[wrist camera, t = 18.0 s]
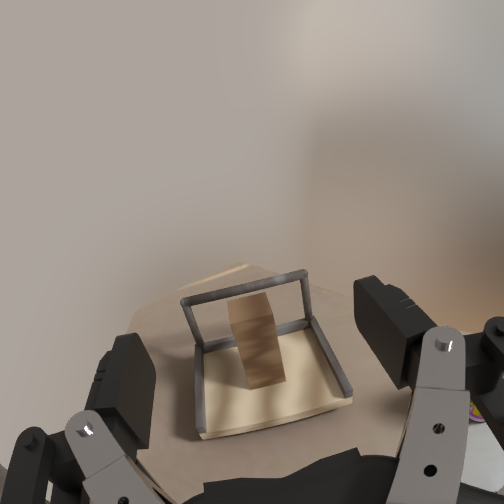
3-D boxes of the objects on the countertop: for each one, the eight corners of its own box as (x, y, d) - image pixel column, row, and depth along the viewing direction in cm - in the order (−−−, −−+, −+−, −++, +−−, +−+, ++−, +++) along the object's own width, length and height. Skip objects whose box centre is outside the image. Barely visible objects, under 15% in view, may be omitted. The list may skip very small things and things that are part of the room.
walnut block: (250, 390, 40) (230, 324, 35) (246, 366, 45) (227, 301, 40) (286, 381, 41) (272, 313, 36) (278, 358, 45) (265, 292, 40)
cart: (207, 446, 36) (168, 380, 30) (203, 364, 52) (177, 297, 46) (351, 411, 37) (353, 335, 31) (316, 337, 53) (307, 266, 47)
